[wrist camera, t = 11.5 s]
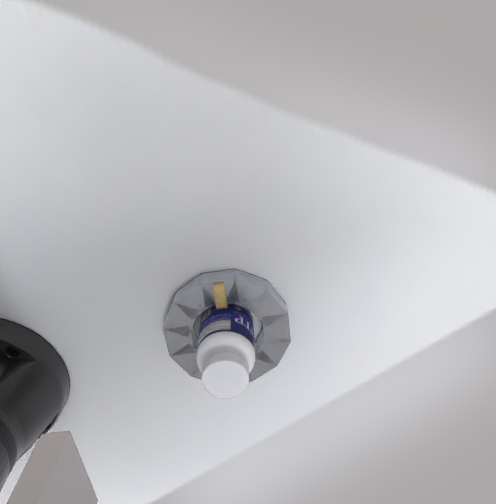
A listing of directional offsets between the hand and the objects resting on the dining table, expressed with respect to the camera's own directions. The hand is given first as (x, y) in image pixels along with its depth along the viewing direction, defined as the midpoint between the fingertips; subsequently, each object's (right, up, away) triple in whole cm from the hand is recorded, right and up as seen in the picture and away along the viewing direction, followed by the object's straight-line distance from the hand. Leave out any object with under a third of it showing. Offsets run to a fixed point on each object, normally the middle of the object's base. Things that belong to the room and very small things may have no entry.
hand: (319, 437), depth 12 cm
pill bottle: (-4, -2, +32) cm, 33 cm away
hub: (-4, -2, +32) cm, 33 cm away
